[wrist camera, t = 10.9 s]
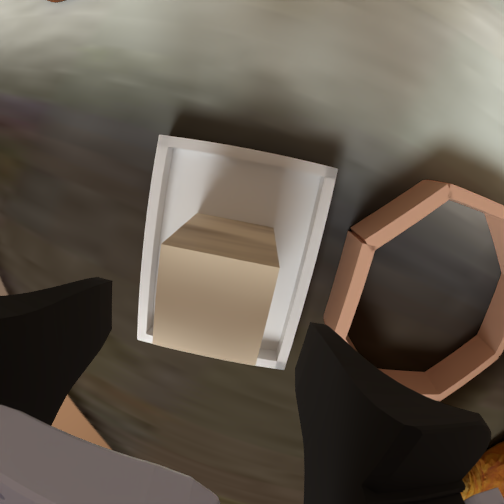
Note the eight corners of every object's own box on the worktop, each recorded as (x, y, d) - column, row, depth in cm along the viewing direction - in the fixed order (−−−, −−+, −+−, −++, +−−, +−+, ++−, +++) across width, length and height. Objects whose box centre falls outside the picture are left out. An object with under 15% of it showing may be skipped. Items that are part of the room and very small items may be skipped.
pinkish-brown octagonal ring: (460, 380, 22) (474, 400, 19) (305, 369, 22) (310, 396, 19) (523, 218, 18) (548, 227, 15) (364, 159, 18) (382, 159, 15)
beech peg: (257, 297, 20) (255, 365, 13) (186, 283, 20) (152, 343, 13) (273, 227, 18) (279, 267, 12) (197, 212, 18) (161, 244, 12)
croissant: (503, 475, 29) (521, 508, 21) (426, 505, 29) (440, 546, 21) (547, 411, 25) (574, 445, 17) (469, 443, 25) (495, 491, 17)
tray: (282, 354, 21) (284, 370, 20) (145, 326, 21) (137, 339, 19) (331, 167, 18) (338, 168, 16) (168, 136, 18) (159, 134, 16)
